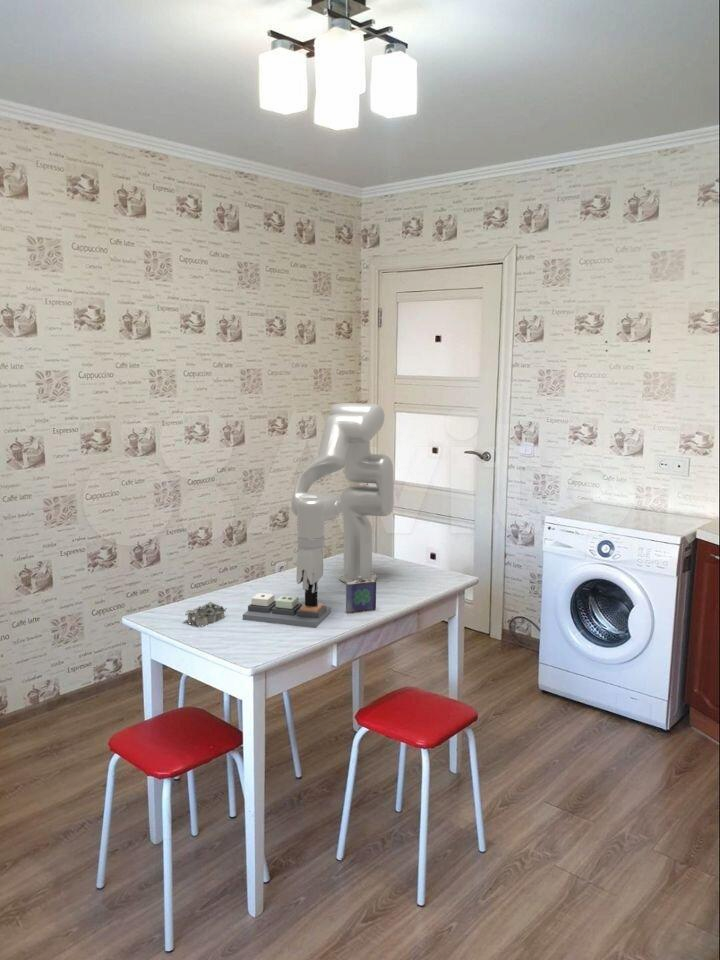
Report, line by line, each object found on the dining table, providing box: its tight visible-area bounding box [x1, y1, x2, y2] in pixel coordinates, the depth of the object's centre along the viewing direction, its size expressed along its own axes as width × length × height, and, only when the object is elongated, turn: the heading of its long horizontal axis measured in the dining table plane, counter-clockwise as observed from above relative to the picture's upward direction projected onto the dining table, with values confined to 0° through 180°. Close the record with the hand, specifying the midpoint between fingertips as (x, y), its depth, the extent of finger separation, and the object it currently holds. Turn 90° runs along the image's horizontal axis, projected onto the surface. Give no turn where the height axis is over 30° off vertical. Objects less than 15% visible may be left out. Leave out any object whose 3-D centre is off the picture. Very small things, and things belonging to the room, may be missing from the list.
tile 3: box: [300, 602, 324, 613], centre depth 215 cm, size 5×5×2 cm
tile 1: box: [250, 592, 276, 606], centre depth 219 cm, size 5×5×2 cm
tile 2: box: [275, 595, 299, 609], centre depth 217 cm, size 5×5×2 cm
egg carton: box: [184, 601, 228, 627], centre depth 215 cm, size 11×8×4 cm
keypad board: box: [242, 600, 332, 629], centre depth 218 cm, size 13×22×3 cm, turn 73°
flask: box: [345, 575, 377, 614], centre depth 222 cm, size 9×3×11 cm, turn 109°
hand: (311, 605), depth 215 cm, fingers closed
